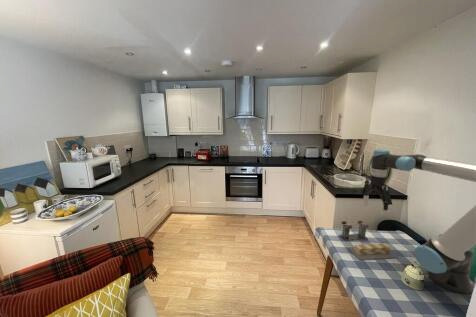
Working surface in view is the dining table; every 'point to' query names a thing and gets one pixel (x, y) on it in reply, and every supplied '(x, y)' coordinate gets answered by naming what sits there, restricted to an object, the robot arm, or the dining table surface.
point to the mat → (373, 255)
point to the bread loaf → (372, 249)
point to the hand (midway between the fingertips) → (373, 209)
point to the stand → (351, 237)
